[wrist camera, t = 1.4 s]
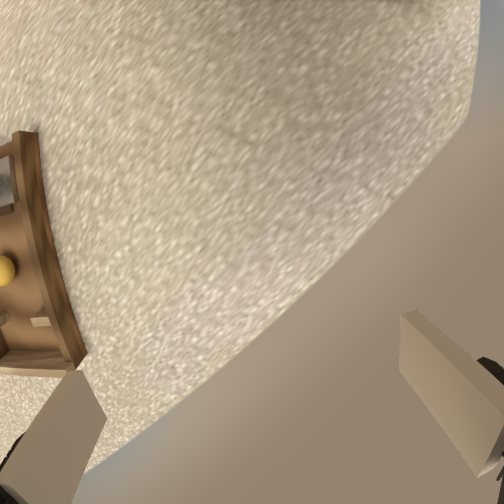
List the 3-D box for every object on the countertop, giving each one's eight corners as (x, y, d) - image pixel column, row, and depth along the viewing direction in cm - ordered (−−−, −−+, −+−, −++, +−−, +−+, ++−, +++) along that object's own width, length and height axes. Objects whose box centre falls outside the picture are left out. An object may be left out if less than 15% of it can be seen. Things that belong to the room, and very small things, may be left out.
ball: (-3, 254, 33) (-20, 262, 29) (16, 250, 33) (-2, 257, 29) (5, 282, 34) (-12, 291, 30) (23, 279, 34) (7, 289, 30)
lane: (-36, 167, 31) (-63, 169, 25) (37, 133, 31) (9, 129, 25) (11, 353, 38) (-9, 372, 32) (87, 353, 38) (69, 377, 32)
